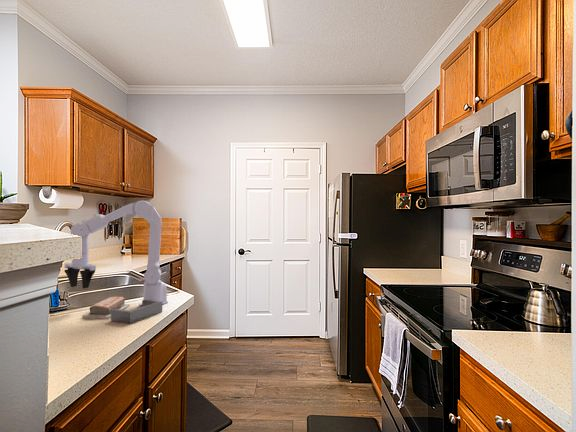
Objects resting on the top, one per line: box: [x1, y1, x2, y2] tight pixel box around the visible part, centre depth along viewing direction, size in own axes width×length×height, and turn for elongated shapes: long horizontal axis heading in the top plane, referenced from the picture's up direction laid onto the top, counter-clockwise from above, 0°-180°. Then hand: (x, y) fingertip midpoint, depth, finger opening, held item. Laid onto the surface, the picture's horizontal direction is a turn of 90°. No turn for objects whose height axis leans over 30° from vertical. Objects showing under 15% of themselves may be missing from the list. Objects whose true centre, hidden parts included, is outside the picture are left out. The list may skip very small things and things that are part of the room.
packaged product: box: [81, 296, 131, 320], centre depth 139 cm, size 18×5×10 cm
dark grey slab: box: [110, 299, 163, 325], centre depth 134 cm, size 17×8×4 cm, turn 161°
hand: (79, 287), depth 143 cm, fingers open, 6 cm apart
